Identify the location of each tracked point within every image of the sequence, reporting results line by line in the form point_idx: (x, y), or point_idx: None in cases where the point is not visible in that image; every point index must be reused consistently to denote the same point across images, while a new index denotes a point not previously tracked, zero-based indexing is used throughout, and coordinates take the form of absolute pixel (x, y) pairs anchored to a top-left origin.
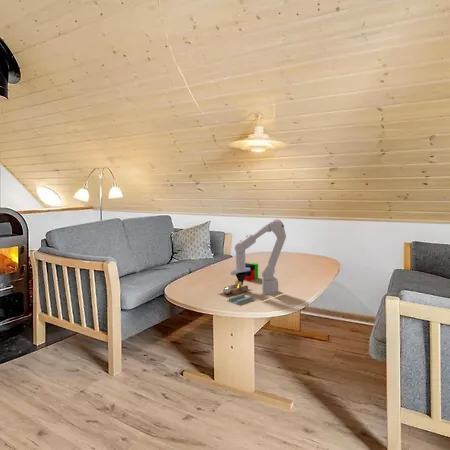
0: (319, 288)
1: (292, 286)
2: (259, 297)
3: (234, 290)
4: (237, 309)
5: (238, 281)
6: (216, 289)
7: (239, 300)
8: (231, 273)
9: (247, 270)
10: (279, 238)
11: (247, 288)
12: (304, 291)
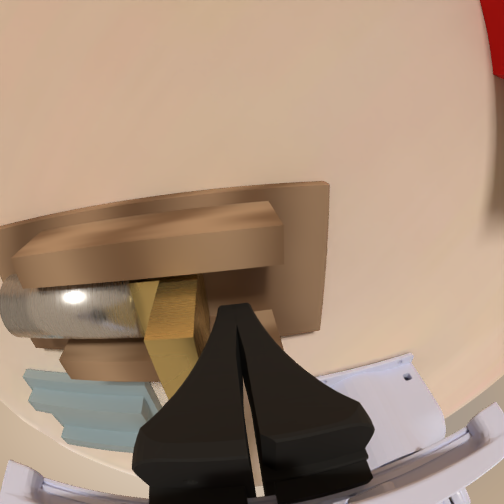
0: (483, 390)
1: (491, 344)
2: (249, 417)
3: (85, 375)
4: (61, 434)
5: (173, 386)
6: (63, 37)
7: (77, 443)
8: (15, 489)
9: (442, 458)
10: None
11: None
12: (444, 405)
